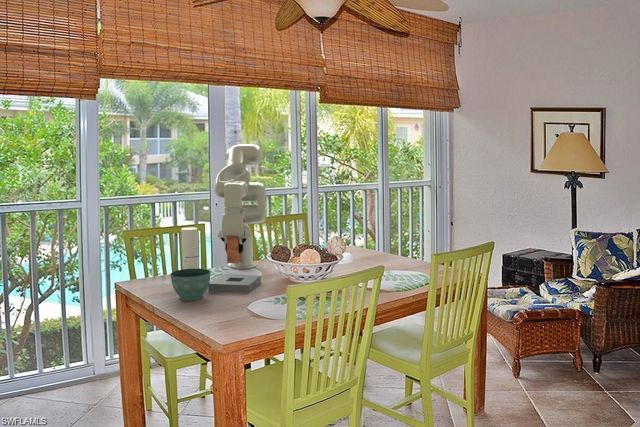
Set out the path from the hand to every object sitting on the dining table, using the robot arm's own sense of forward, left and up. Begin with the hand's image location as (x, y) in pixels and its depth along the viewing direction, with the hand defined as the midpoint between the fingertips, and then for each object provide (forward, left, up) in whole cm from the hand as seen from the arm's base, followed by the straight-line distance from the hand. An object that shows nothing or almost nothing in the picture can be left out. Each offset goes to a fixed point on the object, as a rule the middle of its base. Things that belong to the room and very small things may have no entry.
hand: (234, 252), depth 267 cm
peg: (0, 0, -4) cm, 4 cm away
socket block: (0, 0, -16) cm, 16 cm away
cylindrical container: (-4, -22, -16) cm, 28 cm away
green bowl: (+20, -12, -16) cm, 28 cm away
